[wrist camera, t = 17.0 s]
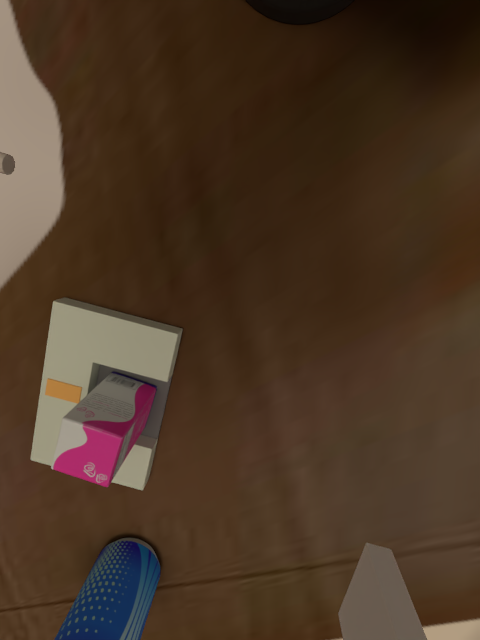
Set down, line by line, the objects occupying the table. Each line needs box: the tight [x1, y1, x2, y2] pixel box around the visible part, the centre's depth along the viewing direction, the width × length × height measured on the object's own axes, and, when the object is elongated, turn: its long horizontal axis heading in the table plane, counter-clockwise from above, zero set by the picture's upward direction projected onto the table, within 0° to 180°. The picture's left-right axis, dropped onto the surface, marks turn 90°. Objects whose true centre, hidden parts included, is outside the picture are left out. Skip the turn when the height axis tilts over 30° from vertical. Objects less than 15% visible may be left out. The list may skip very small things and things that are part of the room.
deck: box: [31, 298, 183, 490], centre depth 44 cm, size 14×20×3 cm
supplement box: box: [51, 371, 157, 487], centre depth 40 cm, size 6×6×12 cm
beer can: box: [55, 538, 161, 640], centre depth 43 cm, size 8×8×16 cm
